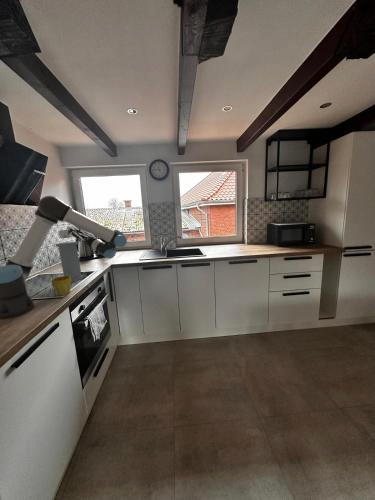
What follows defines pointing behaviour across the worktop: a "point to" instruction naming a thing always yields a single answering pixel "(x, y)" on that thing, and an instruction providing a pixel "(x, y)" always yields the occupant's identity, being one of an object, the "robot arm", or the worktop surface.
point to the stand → (70, 260)
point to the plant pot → (62, 284)
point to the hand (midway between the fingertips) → (69, 227)
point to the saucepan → (66, 233)
